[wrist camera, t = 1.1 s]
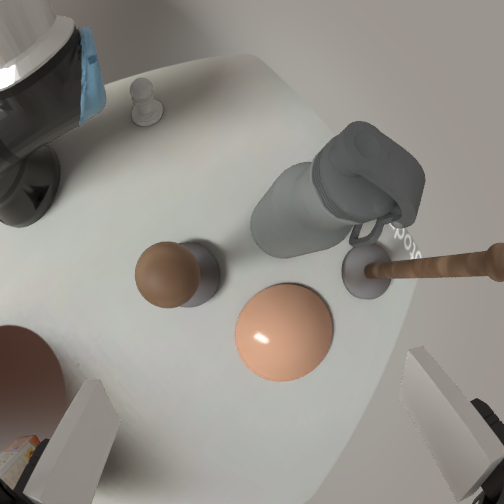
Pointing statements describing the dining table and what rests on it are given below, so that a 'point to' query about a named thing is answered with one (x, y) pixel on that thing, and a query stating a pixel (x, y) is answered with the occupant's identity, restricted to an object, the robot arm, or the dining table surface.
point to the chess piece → (144, 103)
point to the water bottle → (339, 195)
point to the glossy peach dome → (283, 332)
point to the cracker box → (16, 459)
